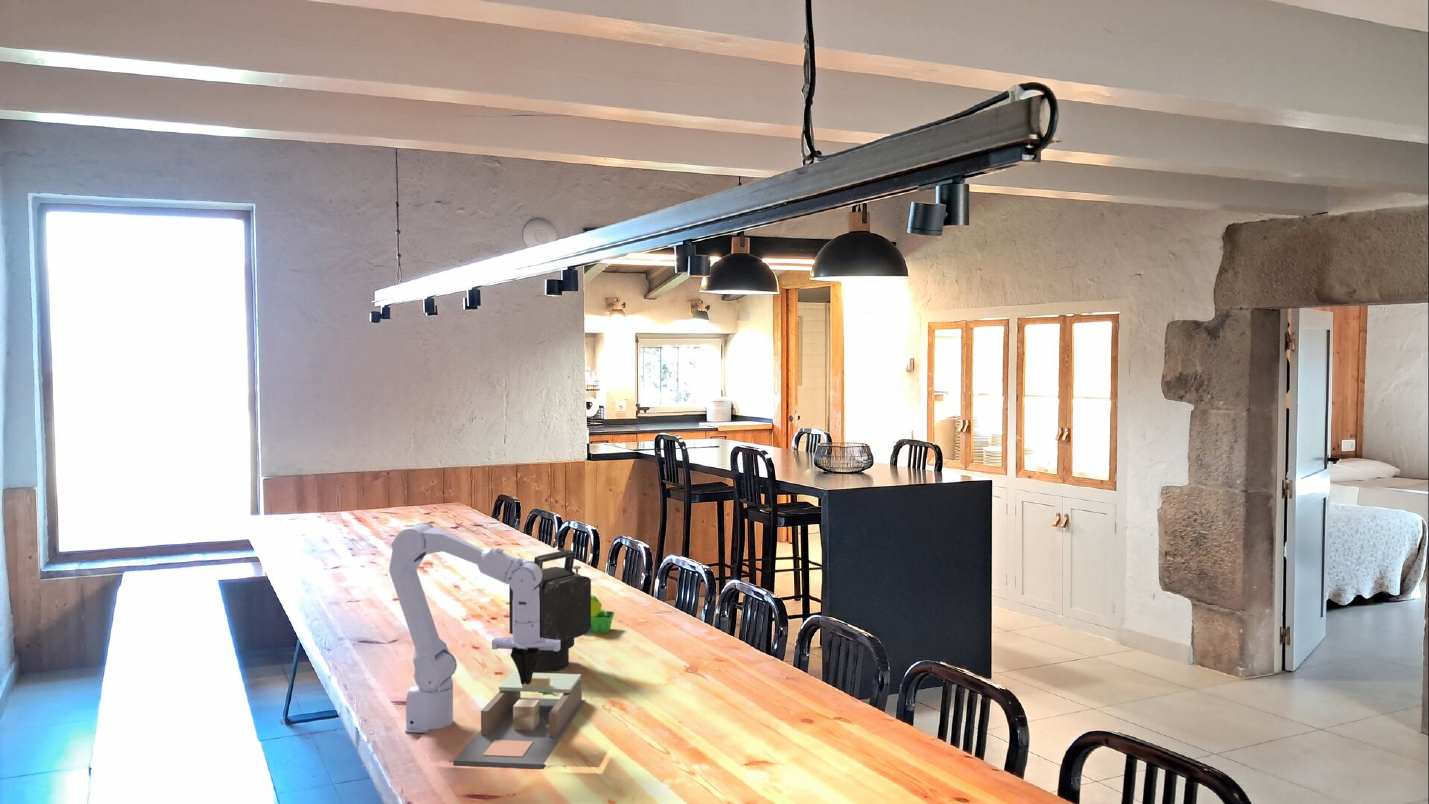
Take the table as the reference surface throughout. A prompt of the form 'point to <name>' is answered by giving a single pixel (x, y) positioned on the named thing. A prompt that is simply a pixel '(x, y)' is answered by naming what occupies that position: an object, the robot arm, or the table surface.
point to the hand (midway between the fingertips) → (526, 682)
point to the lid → (542, 683)
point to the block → (525, 714)
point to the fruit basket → (599, 617)
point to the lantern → (560, 609)
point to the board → (519, 732)
